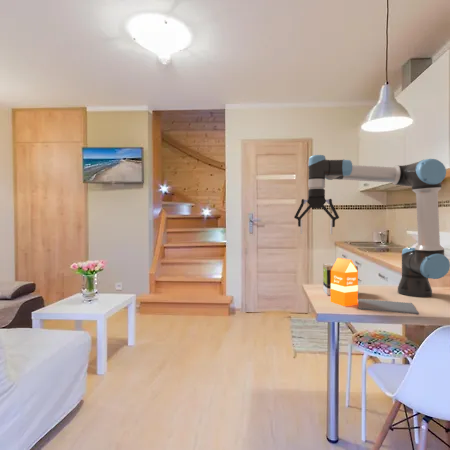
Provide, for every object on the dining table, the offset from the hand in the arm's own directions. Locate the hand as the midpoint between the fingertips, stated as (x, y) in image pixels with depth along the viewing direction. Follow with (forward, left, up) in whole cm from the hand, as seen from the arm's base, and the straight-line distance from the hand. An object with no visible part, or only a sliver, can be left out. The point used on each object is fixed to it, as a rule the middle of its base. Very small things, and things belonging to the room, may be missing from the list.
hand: (316, 234), depth 159 cm
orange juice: (-13, +4, -31) cm, 34 cm away
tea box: (-10, -15, -31) cm, 36 cm away
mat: (-30, +4, -31) cm, 43 cm away
